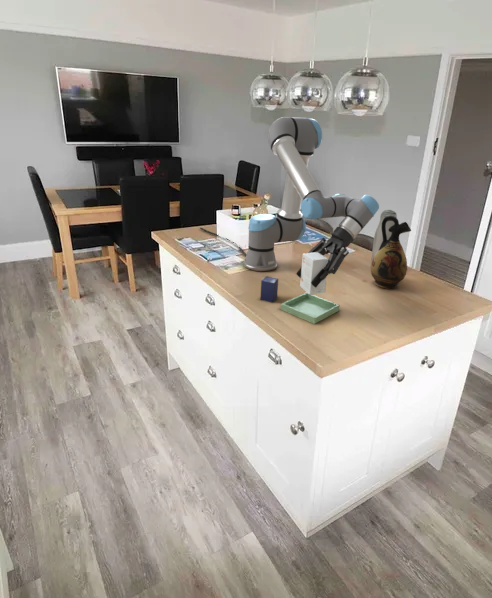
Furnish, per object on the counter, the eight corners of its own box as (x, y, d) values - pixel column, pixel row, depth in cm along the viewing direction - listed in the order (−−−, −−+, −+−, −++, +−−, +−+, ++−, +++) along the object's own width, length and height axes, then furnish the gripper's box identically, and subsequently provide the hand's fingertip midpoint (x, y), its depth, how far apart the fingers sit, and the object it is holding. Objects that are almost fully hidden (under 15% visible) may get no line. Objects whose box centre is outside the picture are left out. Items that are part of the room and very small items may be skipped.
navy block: (260, 299, 160) (261, 280, 156) (265, 295, 164) (266, 276, 161) (272, 302, 158) (273, 283, 155) (277, 297, 163) (278, 278, 159)
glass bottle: (382, 262, 210) (391, 207, 198) (394, 269, 202) (405, 212, 190) (366, 264, 206) (374, 207, 194) (378, 271, 198) (388, 213, 186)
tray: (280, 309, 153) (280, 303, 152) (306, 297, 165) (306, 292, 164) (314, 324, 145) (315, 318, 144) (339, 310, 156) (339, 305, 155)
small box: (325, 293, 149) (329, 258, 144) (309, 295, 147) (312, 260, 141) (314, 284, 156) (317, 251, 151) (299, 286, 153) (302, 252, 148)
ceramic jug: (407, 283, 186) (420, 217, 174) (398, 294, 174) (411, 224, 161) (371, 274, 193) (381, 210, 181) (359, 285, 181) (370, 216, 168)
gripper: (370, 247, 144) (329, 297, 142) (332, 231, 160) (295, 276, 158) (361, 234, 139) (317, 285, 137) (322, 218, 155) (283, 264, 153)
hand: (305, 280), depth 148 cm, fingers closed on small box, 9 cm apart
